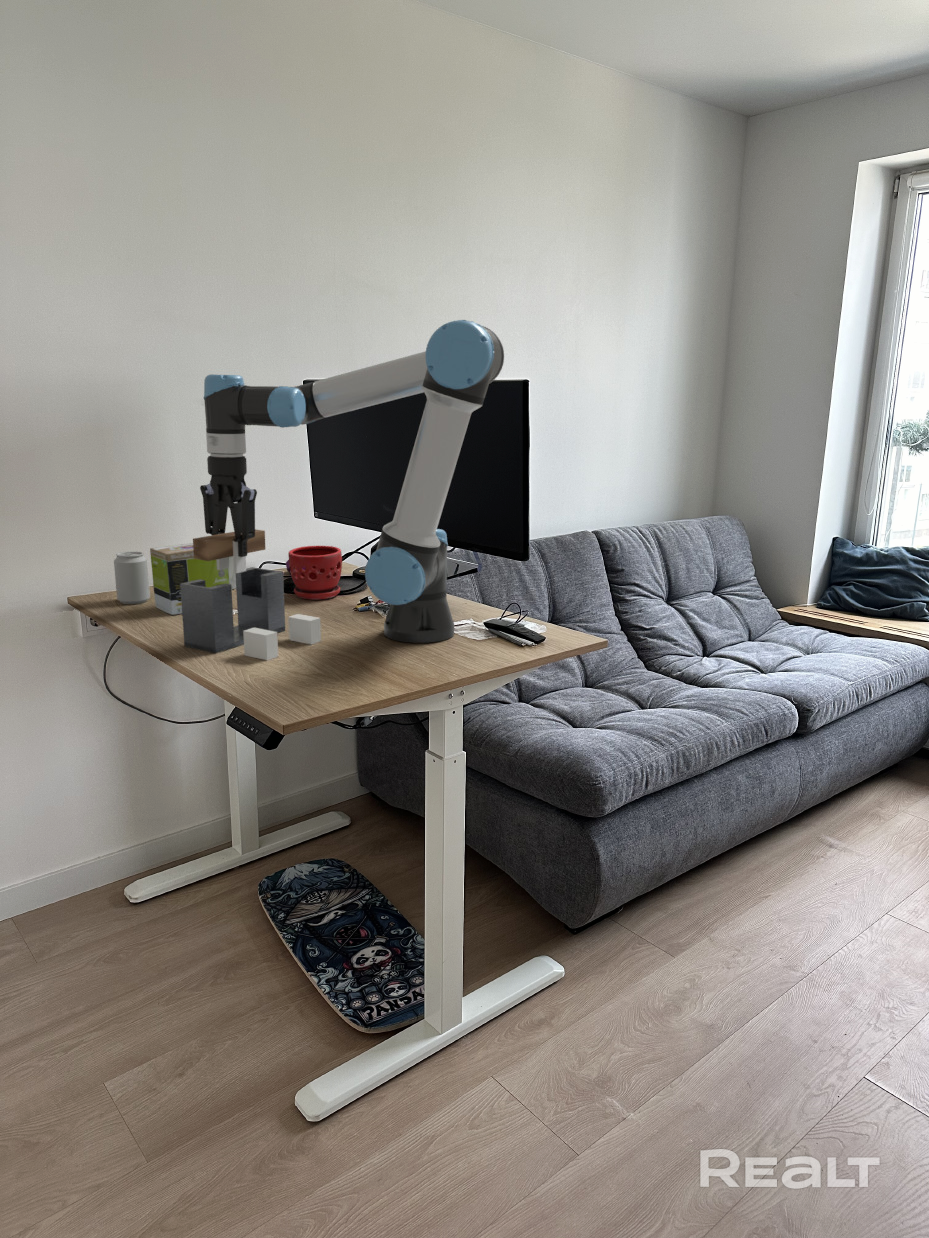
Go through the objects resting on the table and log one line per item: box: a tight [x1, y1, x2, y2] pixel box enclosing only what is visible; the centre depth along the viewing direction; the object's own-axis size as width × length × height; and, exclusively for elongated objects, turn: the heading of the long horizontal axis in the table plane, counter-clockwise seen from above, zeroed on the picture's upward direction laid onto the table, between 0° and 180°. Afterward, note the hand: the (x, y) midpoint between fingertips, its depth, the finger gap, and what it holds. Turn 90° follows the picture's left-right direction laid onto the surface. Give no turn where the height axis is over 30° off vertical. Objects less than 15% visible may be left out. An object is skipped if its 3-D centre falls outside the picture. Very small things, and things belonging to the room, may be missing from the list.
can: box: [113, 551, 151, 605], centre depth 211 cm, size 8×8×12 cm
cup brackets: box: [180, 566, 286, 654], centre depth 181 cm, size 9×20×13 cm, turn 150°
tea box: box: [149, 542, 230, 616], centre depth 206 cm, size 15×10×15 cm
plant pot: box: [287, 545, 343, 601], centre depth 219 cm, size 13×13×12 cm
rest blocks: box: [243, 613, 322, 661], centre depth 176 cm, size 6×16×5 cm, turn 150°
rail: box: [192, 528, 266, 561], centre depth 178 cm, size 4×16×4 cm, turn 150°
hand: (231, 570), depth 179 cm, fingers closed on rail, 4 cm apart
